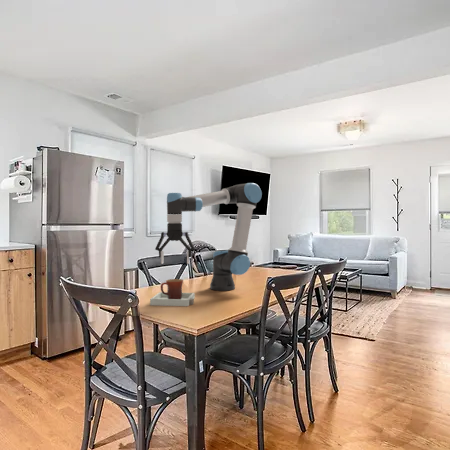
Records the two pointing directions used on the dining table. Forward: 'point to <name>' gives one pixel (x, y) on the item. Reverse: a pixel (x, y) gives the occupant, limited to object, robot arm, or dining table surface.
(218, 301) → the dining table surface
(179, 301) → the grey-green tray
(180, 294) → the mug
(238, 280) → the dining table surface
